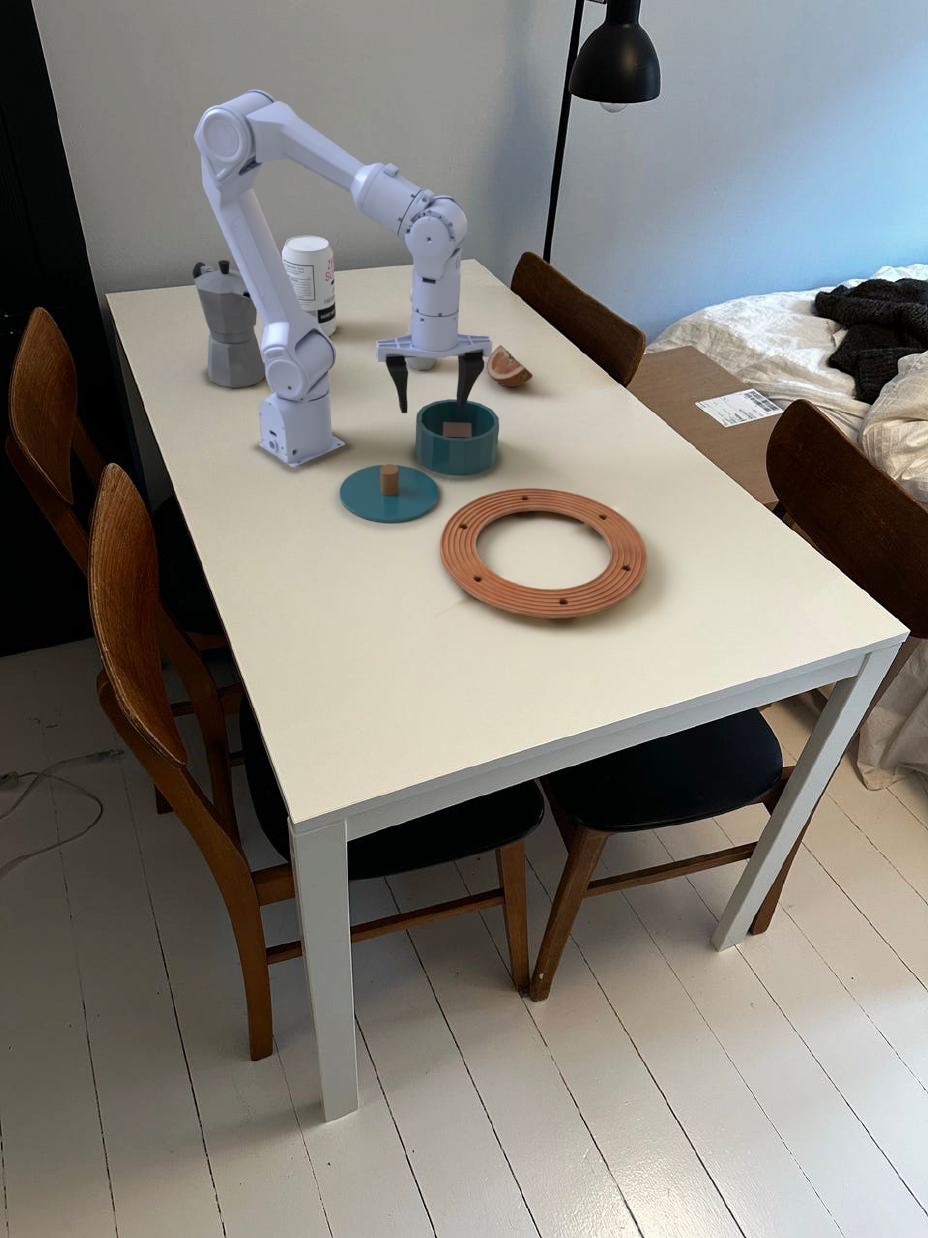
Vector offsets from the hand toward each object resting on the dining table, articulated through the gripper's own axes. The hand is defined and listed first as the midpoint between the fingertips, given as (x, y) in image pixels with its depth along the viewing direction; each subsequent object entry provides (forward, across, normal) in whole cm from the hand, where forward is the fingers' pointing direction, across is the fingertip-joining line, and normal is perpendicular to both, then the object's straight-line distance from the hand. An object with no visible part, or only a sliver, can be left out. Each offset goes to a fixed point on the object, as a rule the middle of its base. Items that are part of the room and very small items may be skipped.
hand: (432, 407), depth 122 cm
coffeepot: (+10, +26, -33) cm, 43 cm away
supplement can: (+10, +12, -47) cm, 49 cm away
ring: (+10, -10, +21) cm, 26 cm away
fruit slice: (+10, -17, -24) cm, 31 cm away
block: (+10, -4, -4) cm, 11 cm away
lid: (+9, +6, +5) cm, 13 cm away
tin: (+10, -4, -4) cm, 12 cm away
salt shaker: (+10, -5, -32) cm, 34 cm away
